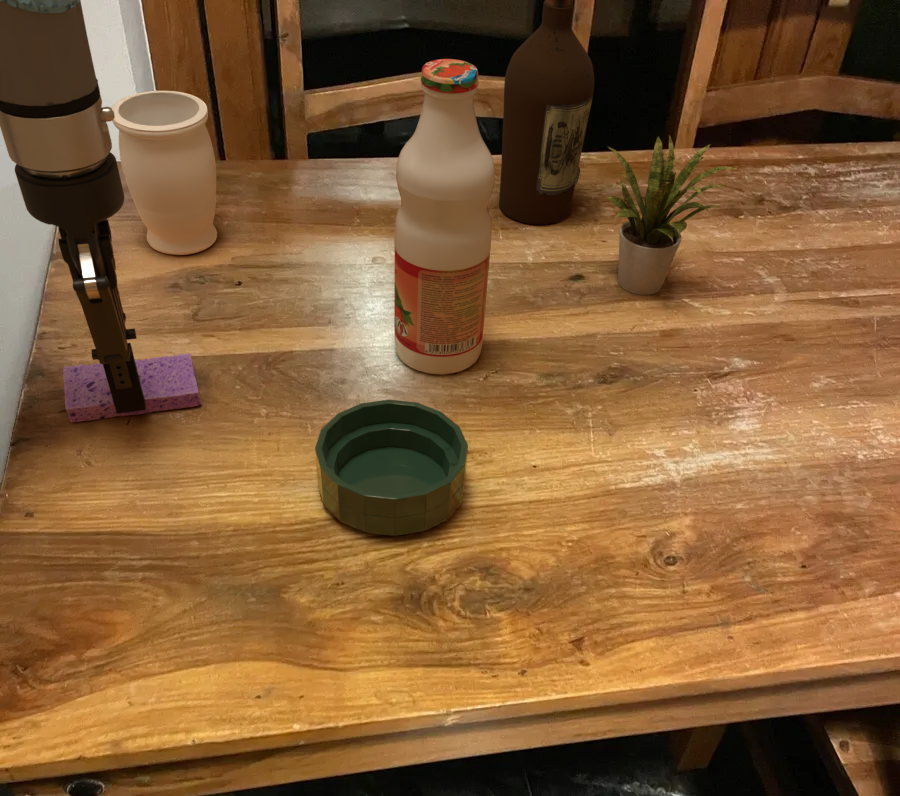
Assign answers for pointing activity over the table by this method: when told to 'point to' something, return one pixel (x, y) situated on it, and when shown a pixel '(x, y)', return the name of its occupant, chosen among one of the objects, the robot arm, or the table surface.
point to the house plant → (655, 219)
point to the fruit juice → (443, 226)
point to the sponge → (160, 382)
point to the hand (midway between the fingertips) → (131, 407)
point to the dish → (391, 467)
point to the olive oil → (545, 119)
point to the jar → (169, 168)
